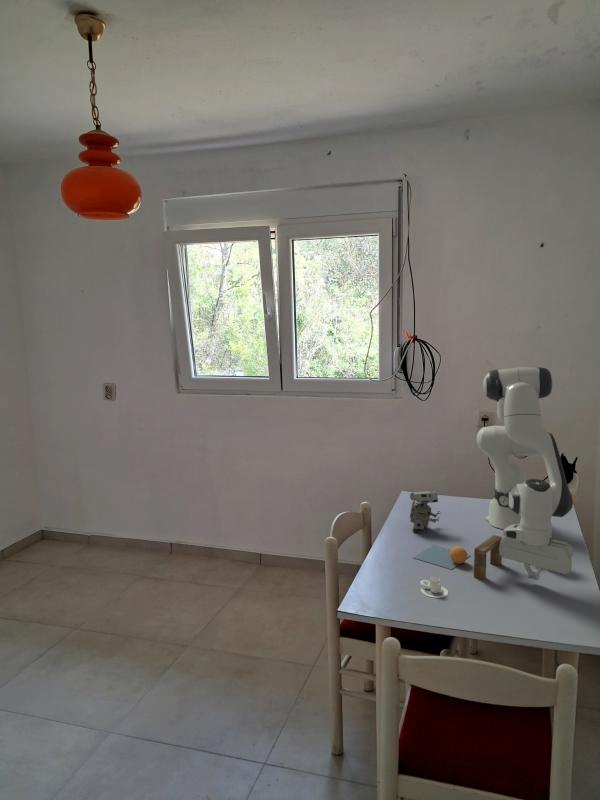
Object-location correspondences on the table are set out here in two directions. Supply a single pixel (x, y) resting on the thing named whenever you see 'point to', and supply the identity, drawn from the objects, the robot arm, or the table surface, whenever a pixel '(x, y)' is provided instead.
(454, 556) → the ball
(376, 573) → the table surface
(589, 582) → the table surface
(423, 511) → the figurine
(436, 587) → the mug and donut ornament
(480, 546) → the bridge
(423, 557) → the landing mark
